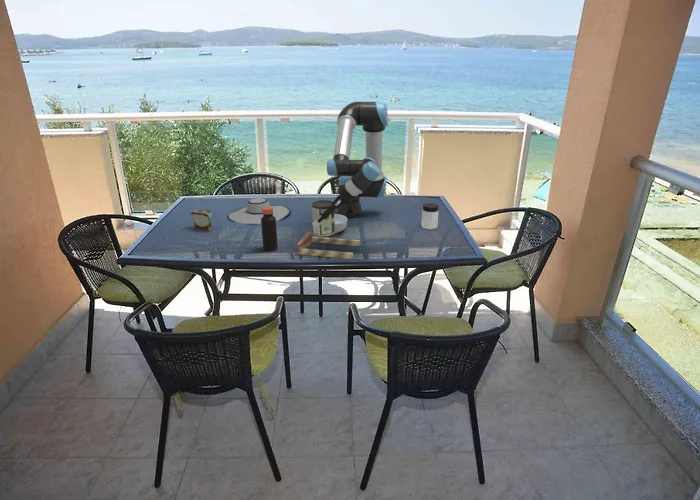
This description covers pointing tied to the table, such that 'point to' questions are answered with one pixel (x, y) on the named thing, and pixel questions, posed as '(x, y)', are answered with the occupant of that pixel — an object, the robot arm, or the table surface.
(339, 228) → the cereal bowl
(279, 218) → the sun hat
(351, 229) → the table surface
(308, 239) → the guide
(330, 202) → the coffee can
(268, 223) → the bottle
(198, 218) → the food container
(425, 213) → the jar
